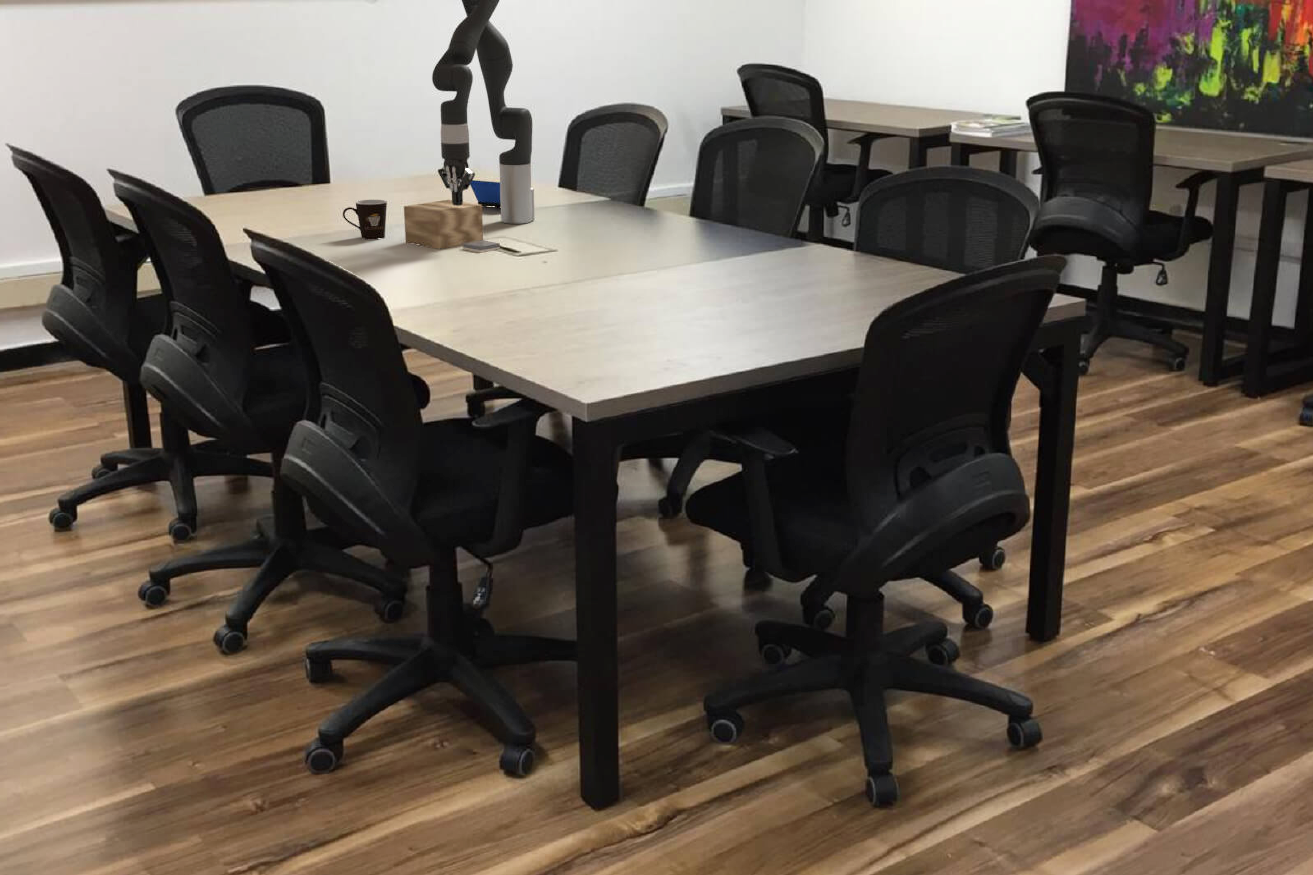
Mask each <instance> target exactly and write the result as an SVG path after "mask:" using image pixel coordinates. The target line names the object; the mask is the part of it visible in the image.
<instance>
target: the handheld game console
mask: <svg viewBox="0 0 1313 875" xmlns="http://www.w3.org/2000/svg"><path fill="white" fill-rule="evenodd" d="M470 187H471V189H472V192H473V194H474V196H475V198H476V201H477V204H479V205H482V206H495V207H501V200H500V181H486V180H475V179H473V180H472V182H471V184H470Z"/></svg>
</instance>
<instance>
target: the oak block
mask: <svg viewBox="0 0 1313 875" xmlns="http://www.w3.org/2000/svg"><path fill="white" fill-rule="evenodd" d="M403 215H404V216H403V217H404V233H405V234H404V237H405V243H406V244H410V243H414V244H413V245H416V244H419V245H418V246H421V245H422V247H426V246H427V248H432V249H436V248H438V250H440V248H442V249H447V248H452V247H458V246H463V243H468V242H474V241H480V240H484V228H483V227H484V225H483V222H484V221H483V207H482V205H479V204H478V203H473V202H472V203H471V202H464V201H463V203H462V205H460V206H456V205H453V203H452V199H443V200H438V201H430V202H424V203H418V204H417V203H415V204H411V205H404V206H403Z"/></svg>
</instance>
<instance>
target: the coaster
mask: <svg viewBox="0 0 1313 875" xmlns="http://www.w3.org/2000/svg"><path fill="white" fill-rule="evenodd" d="M500 246H501V243H500V242H494V241H488V240H484V239H483V240H480V241H474V242H468V243H463V245H462V249H463V250H466V251H470V252H475V253H476V252H477V253H485V252H491V251H496V250H500V249H501V247H500ZM499 248H500V249H499Z"/></svg>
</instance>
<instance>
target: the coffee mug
mask: <svg viewBox="0 0 1313 875" xmlns="http://www.w3.org/2000/svg"><path fill="white" fill-rule="evenodd" d="M387 206H388V201H387V200H385V199H362V200H357V201H355V207H356V208H355V207H352V206H351V207H349V206H348V207H346V208H344V209H343V212H342V217H343V219H344V220H345V221H346V222H347V223H348V224H350V225H352V226H353V227H356V228H357V229H358V230H359V231H360V235H361V239H362V238H365V239H364V240H368V239H375V240H379V239H378V238H383V239H384V238H386V220H387ZM349 210H351V211H353V212H354V213H355V214H356V215H357V219H358V225H359V226H358V225H357V224H355V223H354V222H351V221H350V220H348V218H346V215H345V214H346V212H347V211H349Z"/></svg>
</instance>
